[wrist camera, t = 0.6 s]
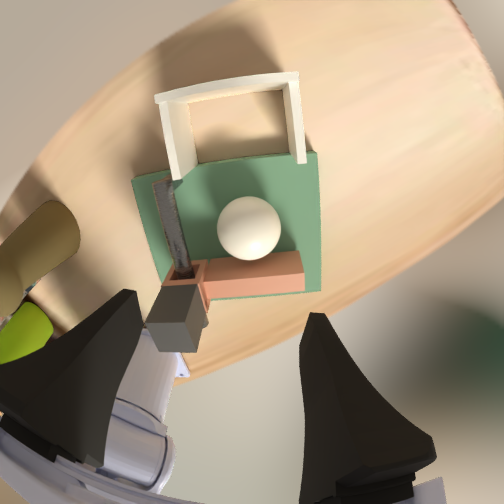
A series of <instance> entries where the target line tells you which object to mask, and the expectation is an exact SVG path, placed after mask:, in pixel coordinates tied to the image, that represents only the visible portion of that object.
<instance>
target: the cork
mask: <svg viewBox="0 0 504 504" xmlns="http://www.w3.org/2000/svg"><path fill="white" fill-rule="evenodd" d="M80 240H81V239H80V230H79V227H78V224H77V221H76V219H75V218H74V216H73V214H72V213H71V211H70V210H69V209H68V208H67V207H66V206H65V205H63V204H61V203H60V202H58V201H48V202H45V203H44V204H43V205H41V206H40V207H39V208H38V209H37V210H36V211H35V212H34V213H33V214H31V215H30V216H29V217H28V218H27V219H26V220H25V221H24V222H23V223H22V224H21V225H20V226H19V227H18V228H17V229H16V230H15V231H14V232H13V233H12V234H11V235H10V236H9V237H8V238H7V239H6V240H5V241H4V242H3V243H2V244H1V245H0V317H6V316H9V315H10V314H12V313H13V312H14V311H16V309H17V308H18V307H19V305H20V303H21V301H22V298H23V292H24V290H26V289H27V288H28V287H30V286H31V285H32V284H33V283H35V282H36V281H37V280H39V279H40V278H41V277H43V276H44V275H46V274H47V273H48V272H50V271H51V270H52V269H54V268H55V267H57V266H58V265H59V264H61V263H62V262H64V261H65V260H67V259H68V258H70V257H71V256H72V255H74V254H75V253H76V252H77V250H78V249H79V246H80Z"/></svg>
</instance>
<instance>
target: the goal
mask: <svg viewBox="0 0 504 504" xmlns="http://www.w3.org/2000/svg"><path fill="white" fill-rule="evenodd" d="M298 81H300V80H299V73H298V72H281V73H268V74H258V75H250V76H242V77H235V78H228V79H222V80H216V81H211V82H206V83H201V84H196V85H191V86H187V87H182V88H178V89H174V90H170V91H166V92H163V93H159V94H155V95H154V99H155V104H159V110H160V116H161V121H162V127H163V133H164V138H165V143H166V149H167V154H168V159H169V164H170V169H171V174H172V178H173V180H178V179H182V178H183V177H184V176H185V175H186V174H187V173H189V172H190V171H191V170H192V169H193V168H194V167H196V166H197V165H198V159H197V153H196V147H195V142H194V136H193V130H192V124H191V118H190V112H189V105H188V103H192V102H197V101H202V100H207V99H213V98H218V97H224V96H231V95H237V94H245V93H253V92H262V91H272V90H282V92H283V100H284V108H285V116H286V124H287V133H288V143H289V152H290V154H291V155H292V157H293V158H294V160H295V161H296V162H297V164H306V163H307V158H306V146H305V136H304V126H303V116H302V107H301V99H300V91H299V83H298Z"/></svg>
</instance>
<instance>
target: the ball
mask: <svg viewBox="0 0 504 504" xmlns="http://www.w3.org/2000/svg"><path fill="white" fill-rule="evenodd" d="M280 233H281V224H280V219H279V216H278V214H277V212H276V211H275V209H274V208H273V207H272V206H271V205H270V204H269V203H268V202H266V201H265V200H263V199H260V198H257V197H251V196H247V197H241V198H237V199H235V200H233V201H232V202H230V203H229V204H228V205H227V206H226V207H225V208H224V209H223V210H222V212H221V214H220V216H219V219H218V223H217V234H218V238H219V241H220V243H221V245H222V246H223V248H224V249H225V250H226V251H227V252H228V253H229V254H231V255H232V256H234V257H236V258H239V259H242V260H256V259H259V258H262V257H264V256H265V255H267V254H268V253H270V252H271V251H272V250H273V249H274V247H275V246H276V244H277V243H278V240H279V237H280Z"/></svg>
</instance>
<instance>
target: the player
mask: <svg viewBox="0 0 504 504" xmlns="http://www.w3.org/2000/svg"><path fill="white" fill-rule="evenodd" d="M191 263H192V266H193V270H194V274H195V279H184V280H178V278H177V275H176V271H175V268H174V265H173V264H172V266H171V268H170V270H169V271H168V273H167V275H166V277H165V279H164V281H163V283H162V285H161V290H160V292H159V294H158V296H157V298H156V300H155V302H154V304H153V306H152V308H151V311H150V313H149V315H148V317H147V319H146V321H145V325H146V327H147V329H148V331H149V333H150V335H151V337H152V339H153V341H154V343H155V345H156V347H157V349H158V351H159V352H180V353H197V349H198V345H199V340H200V336H201V332H202V328H203V324H204V320H205V315H206V313H208V309H209V305H210V301H211V299H214V298H228V297H242V296H254V295H266V294H277V293H288V292H298V291H305V274H304V269H303V265H302V260H301V256H300V252H299V250H297V251H287V252H277V253H268V254H267V255H265V256H264V257H262V258H259V259H256V260H242V259H239V258H236V257H225V258H214V259H210V263H209V264H208V260H207V259H203V260H193V261H191Z"/></svg>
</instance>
